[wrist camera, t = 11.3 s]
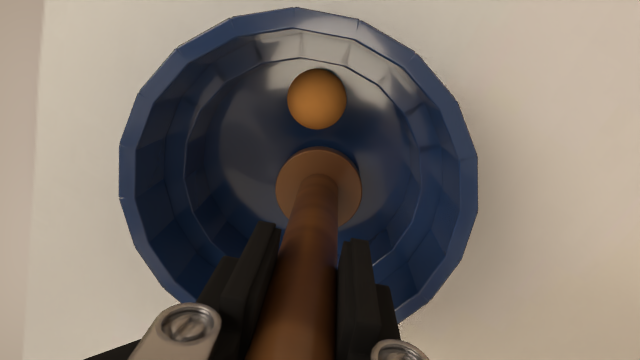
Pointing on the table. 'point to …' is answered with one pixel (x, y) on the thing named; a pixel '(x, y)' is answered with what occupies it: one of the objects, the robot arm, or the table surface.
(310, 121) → the dough ball
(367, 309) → the robot arm
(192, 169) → the blue bowl
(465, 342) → the table surface
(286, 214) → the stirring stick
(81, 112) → the table surface
